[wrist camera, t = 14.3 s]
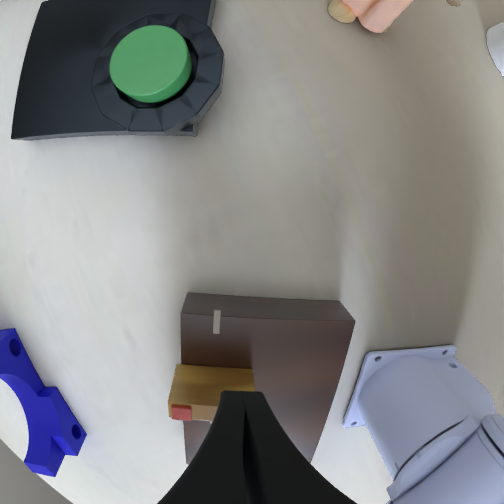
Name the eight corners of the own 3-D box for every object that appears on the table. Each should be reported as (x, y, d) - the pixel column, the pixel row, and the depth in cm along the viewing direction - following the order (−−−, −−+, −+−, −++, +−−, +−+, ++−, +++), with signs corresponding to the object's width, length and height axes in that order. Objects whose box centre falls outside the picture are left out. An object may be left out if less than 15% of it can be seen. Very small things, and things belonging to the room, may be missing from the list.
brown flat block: (303, 440, 24) (310, 466, 21) (189, 438, 23) (186, 465, 20) (340, 295, 20) (357, 316, 17) (187, 286, 19) (180, 308, 16)
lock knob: (252, 368, 18) (257, 411, 14) (250, 383, 18) (255, 426, 14) (176, 363, 17) (166, 404, 14) (177, 378, 18) (168, 420, 14)
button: (196, 38, 12) (193, 23, 11) (187, 103, 13) (181, 95, 11) (127, 40, 12) (117, 27, 10) (116, 104, 13) (103, 97, 11)
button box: (236, -4, 15) (238, -38, 11) (218, 141, 17) (214, 134, 13) (55, 13, 13) (29, -8, 10) (28, 144, 16) (-7, 142, 12)
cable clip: (86, 434, 22) (67, 479, 17) (53, 432, 22) (32, 472, 17) (25, 326, 19) (-15, 365, 13) (-6, 330, 19) (-43, 364, 13)
